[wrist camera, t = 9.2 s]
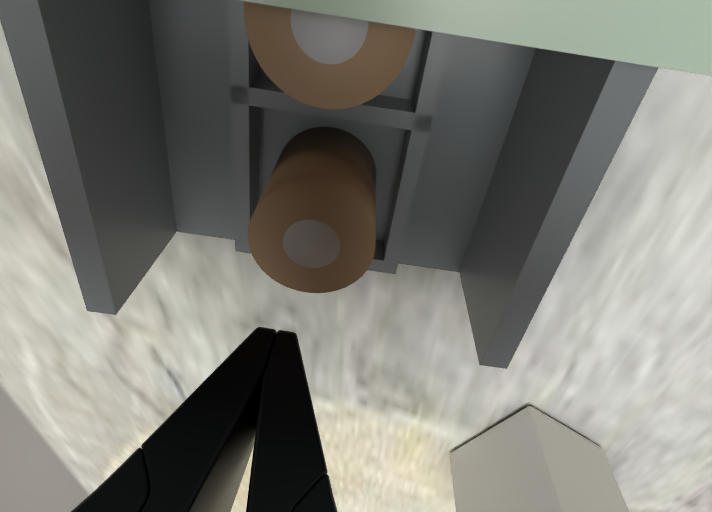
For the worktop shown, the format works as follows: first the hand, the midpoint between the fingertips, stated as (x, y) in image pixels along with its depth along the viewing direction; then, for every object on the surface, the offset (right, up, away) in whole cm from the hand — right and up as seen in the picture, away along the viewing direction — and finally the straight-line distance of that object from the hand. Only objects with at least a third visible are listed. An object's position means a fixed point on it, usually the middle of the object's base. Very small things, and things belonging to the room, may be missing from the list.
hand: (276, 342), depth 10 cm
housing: (+1, +8, +7) cm, 11 cm away
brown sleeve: (0, +5, +8) cm, 10 cm away
